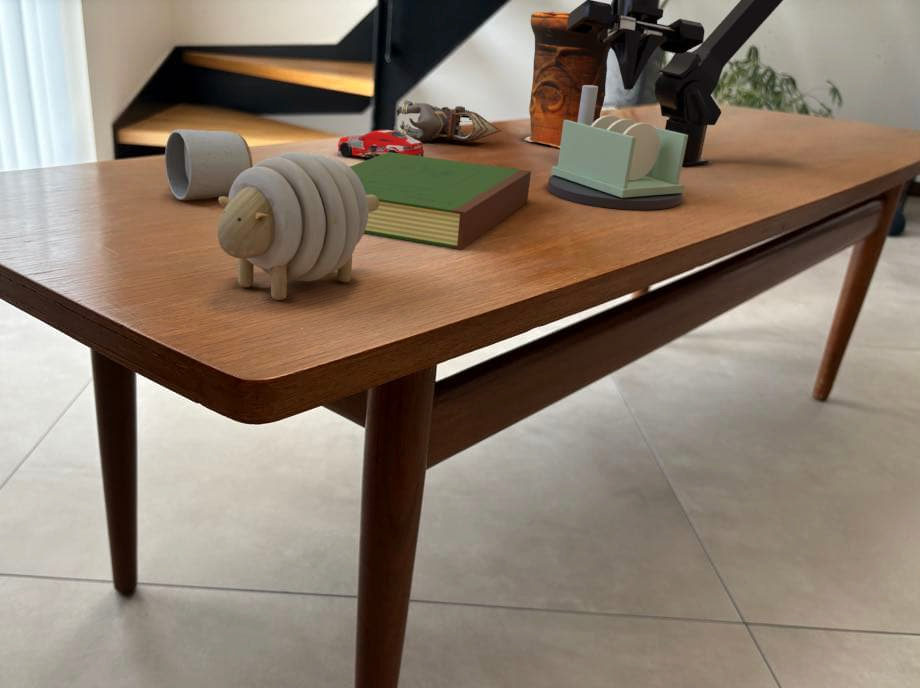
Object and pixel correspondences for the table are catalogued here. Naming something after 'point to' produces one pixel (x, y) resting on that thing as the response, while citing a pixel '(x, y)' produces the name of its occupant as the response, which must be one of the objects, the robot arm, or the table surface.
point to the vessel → (562, 75)
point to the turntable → (608, 196)
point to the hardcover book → (439, 197)
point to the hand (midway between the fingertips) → (628, 89)
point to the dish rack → (619, 153)
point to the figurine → (443, 122)
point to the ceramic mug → (205, 162)
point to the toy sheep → (294, 219)
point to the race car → (379, 144)
